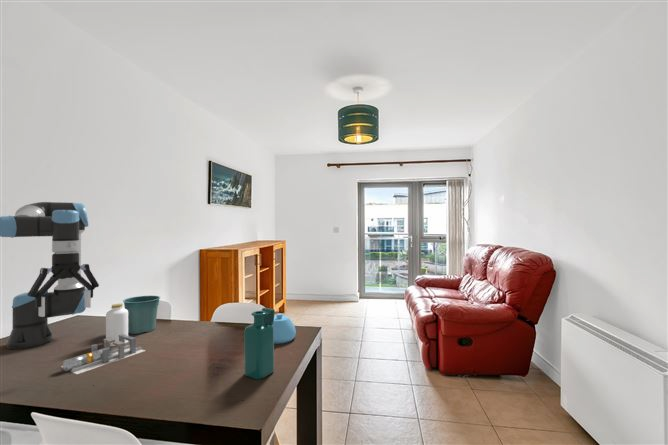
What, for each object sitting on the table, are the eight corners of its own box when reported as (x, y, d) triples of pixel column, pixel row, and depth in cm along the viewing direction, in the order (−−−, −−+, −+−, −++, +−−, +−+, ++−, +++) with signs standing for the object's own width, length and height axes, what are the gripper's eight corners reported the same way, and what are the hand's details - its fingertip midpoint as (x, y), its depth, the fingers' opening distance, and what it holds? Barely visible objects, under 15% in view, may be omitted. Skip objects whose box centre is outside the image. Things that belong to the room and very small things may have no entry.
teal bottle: (259, 381, 108) (258, 316, 108) (242, 375, 112) (241, 312, 112) (278, 369, 116) (278, 309, 116) (262, 364, 120) (261, 306, 121)
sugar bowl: (256, 342, 144) (256, 316, 144) (274, 331, 158) (274, 308, 158) (285, 346, 138) (285, 320, 138) (301, 335, 152) (301, 311, 152)
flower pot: (151, 323, 173) (151, 293, 174) (166, 328, 164) (166, 297, 164) (117, 331, 160) (117, 299, 160) (131, 338, 150) (131, 304, 151)
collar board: (60, 369, 118) (60, 350, 118) (128, 347, 139) (128, 331, 139) (76, 377, 112) (76, 357, 112) (145, 353, 132) (145, 336, 132)
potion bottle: (117, 349, 137) (116, 307, 137) (100, 347, 138) (100, 306, 139) (132, 342, 145) (132, 302, 145) (117, 341, 147) (117, 302, 147)
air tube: (67, 372, 113) (67, 361, 113) (62, 369, 115) (62, 358, 115) (111, 358, 125) (111, 348, 125) (105, 355, 127) (106, 345, 127)
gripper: (24, 255, 102) (24, 322, 102) (109, 250, 124) (109, 304, 124) (14, 255, 106) (14, 319, 105) (99, 250, 128) (99, 302, 127)
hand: (65, 311), depth 115 cm, fingers open, 13 cm apart
